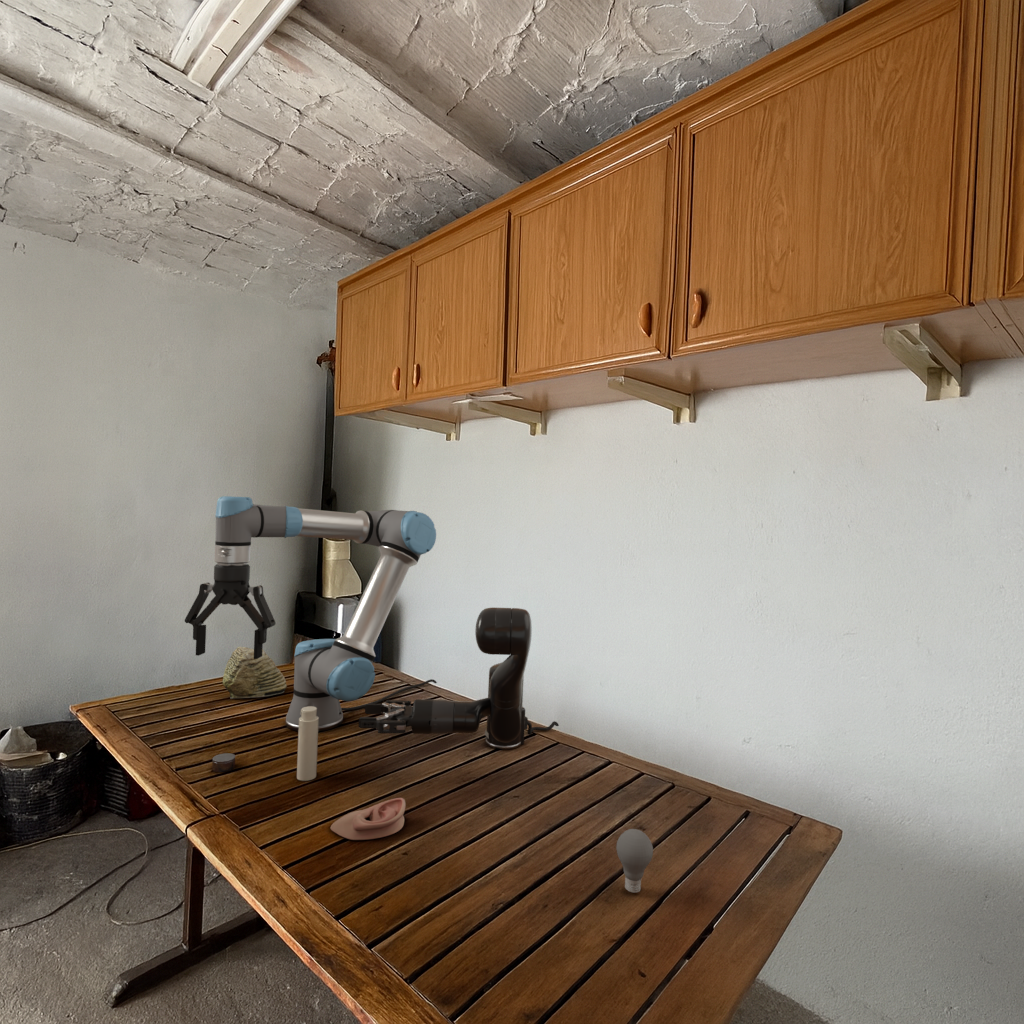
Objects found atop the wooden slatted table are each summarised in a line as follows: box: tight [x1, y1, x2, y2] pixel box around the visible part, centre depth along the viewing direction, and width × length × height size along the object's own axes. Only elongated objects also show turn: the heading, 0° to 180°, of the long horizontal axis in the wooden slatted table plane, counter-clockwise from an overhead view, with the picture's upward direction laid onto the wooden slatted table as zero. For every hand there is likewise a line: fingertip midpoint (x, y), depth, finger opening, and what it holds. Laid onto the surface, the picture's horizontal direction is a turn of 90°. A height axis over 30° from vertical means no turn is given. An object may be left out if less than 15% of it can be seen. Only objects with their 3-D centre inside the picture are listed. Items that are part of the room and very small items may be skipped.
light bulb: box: [615, 828, 654, 894], centre depth 106 cm, size 6×6×10 cm
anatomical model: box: [330, 797, 407, 841], centre depth 123 cm, size 13×4×12 cm
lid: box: [211, 752, 236, 773], centre depth 146 cm, size 5×5×2 cm
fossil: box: [222, 646, 288, 699], centre depth 198 cm, size 9×18×15 cm, turn 132°
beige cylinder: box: [296, 706, 319, 782], centre depth 143 cm, size 4×4×16 cm
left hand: (229, 655), depth 145 cm, fingers open, 13 cm apart
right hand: (362, 715), depth 144 cm, fingers open, 8 cm apart
